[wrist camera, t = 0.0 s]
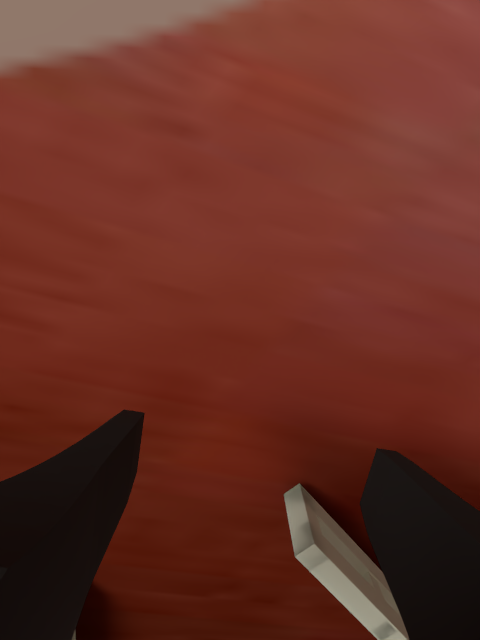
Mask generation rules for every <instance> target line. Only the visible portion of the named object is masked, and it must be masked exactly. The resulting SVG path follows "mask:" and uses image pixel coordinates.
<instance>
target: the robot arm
mask: <svg viewBox="0 0 480 640" xmlns="http://www.w3.org/2000/svg"><path fill="white" fill-rule="evenodd" d="M143 420H144V413H142V412H136V411H129V410H123V411H121V412H120V413H119V414H117V415H116V416H114V417H113V418H111V419H110V420H109V421H107V422H106V423H105V424H103V425H102V426H100V427H99V428H98V429H96V430H95V431H93V432H92V433H90V434H89V435H88V436H86V437H85V438H83V439H82V440H80V441H79V442H77V443H76V444H74V445H72V446H71V447H69V448H67V449H66V450H64V451H62V452H61V453H59V454H57V455H56V456H54V457H52V458H50V459H48V460H47V461H45V462H43V463H41V464H39V465H37V466H35V467H33V468H31V469H29V470H27V471H24V472H22V473H20V474H18V475H16V476H14V477H11V478H9V479H6V480H4V481H1V482H0V640H72V637H73V634H74V631H75V629H76V626H77V623H78V620H79V617H80V614H81V611H82V608H83V605H84V602H85V599H86V597H87V594H88V591H89V589H90V586H91V584H92V581H93V579H94V576H95V574H96V572H97V570H98V567H99V565H100V563H101V561H102V558H103V556H104V554H105V552H106V550H107V547H108V545H109V543H110V541H111V538H112V536H113V534H114V532H115V529H116V527H117V525H118V523H119V520H120V518H121V516H122V514H123V511H124V509H125V507H126V504H127V502H128V499H129V495H130V492H131V489H132V486H133V483H134V479H135V476H136V473H137V467H138V459H139V451H140V444H141V436H142V428H143ZM360 506H361V510H362V514H363V519H364V522H365V526H366V530H367V533H368V536H369V539H370V542H371V544H372V547H373V549H374V552H375V554H376V557H377V559H378V562H379V564H380V567H381V569H382V571H383V574H384V576H385V579H386V581H387V583H388V586H389V588H390V591H391V593H392V596H393V598H394V600H395V603H396V605H397V608H398V610H399V613H400V615H401V618H402V620H403V623H404V626H405V628H406V631H407V634H408V637H409V640H480V511H478V510H477V509H475V508H474V507H472V506H471V505H470V504H468V503H467V502H465V501H464V500H463V499H461V498H460V497H459V496H457V495H456V494H455V493H453V492H452V491H451V490H449V489H448V488H446V487H445V486H444V485H442V484H441V483H440V482H439V481H437V480H436V479H435V478H433V477H432V476H431V475H429V474H428V473H427V472H425V471H424V470H423V469H421V468H420V467H419V466H417V465H416V464H414V463H413V462H412V461H410V460H409V459H407V458H406V457H404V456H403V455H401V454H400V453H398V452H396V451H391V450H385V449H378V448H377V450H376V453H375V456H374V459H373V463H372V466H371V469H370V472H369V475H368V479H367V482H366V485H365V488H364V492H363V495H362V498H361V501H360Z"/></svg>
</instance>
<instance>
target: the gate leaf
mask: <svg viewBox="0 0 480 640" xmlns="http://www.w3.org/2000/svg"><path fill="white" fill-rule="evenodd" d="M284 499H285V504H286V510H287V515H288V521H289V526H290V532H291V538H292V543H293V549H294V554H295V557H296V558H297V559H298V560H299V561H300V562H301V563H302V564H303V565H304V566H305V567H306V568H307V569H308V570H309V571H310V572H311V573H312V574H313V575H314V576H315V577H316V578H317V579H318V580H319V581H320V582H321V583H322V584H323V585H324V586H325V587H326V588H327V589H328V590H329V591H330V592H331V593H332V594H333V595H334V596H335V597H336V598H337V599H338V600H339V601H340V602H341V603H342V604H343V605H344V606H345V607H346V608H347V609H348V610H349V611H350V612H351V613H352V614H353V615H354V616H355V617H356V618H357V619H358V620H359V621H360V622H361V623H362V624H363V625H364V626H365V627H366V628H367V629H368V630H369V631H370V632H371V633H372V634H373V635H374V636H375V637H376V638H377V639H378V640H409V637H408V634H407V631H406V628H405V626H404V623H403V620H402V618H401V615H400V613H399V610H398V608H397V605H396V603H395V600H394V598H393V596H392V593H391V591H390V588H389V586H388V583H387V581H386V579H385V576H384V574H383V572H382V571H381V570H380V569H379V568H378V567H377V566H376V565H375V564H374V563H373V561H372V560H371V559H370V558H369V557H368V556H367V555H366V554H365V553H364V552H363V551H362V550H361V549H360V548H359V546H358V545H357V544H356V543H355V542H354V541H353V540H352V539H351V538H350V537H349V536H348V535H347V534H346V533H345V531H344V530H343V529H342V528H341V527H340V526H339V525H338V524H337V523H336V522H335V521H334V520H333V519H332V518H331V516H330V515H329V514H328V513H327V512H326V511H325V510H324V509H323V508H322V507H321V506H320V505H319V504H318V503H317V501H316V500H315V499H314V498H313V497H312V496H311V495H310V494H309V493H308V492H307V491H306V490H305V489H304V488H303V487H302V485H301V484H300V483H299V484H298V485H296V486H295V487H293V488H292V489H290V490H289V491H288V492H286V493H285V494H284Z"/></svg>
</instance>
